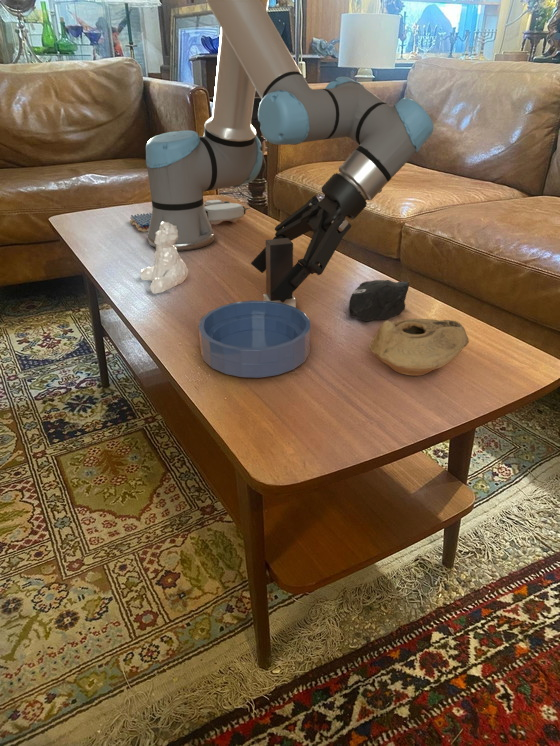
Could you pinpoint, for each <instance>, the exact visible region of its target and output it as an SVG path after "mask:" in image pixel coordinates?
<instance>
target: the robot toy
mask: <svg viewBox="0 0 560 746" xmlns="http://www.w3.org/2000/svg"><path fill="white" fill-rule="evenodd" d="M203 204H204V209H205V211H206V214H207V216H208V219H209V221H210V224H211V225H219V224H220V225H221V223H222V222H226V221H228V222H230V223H236V222H238V221H239V219H242V218H243V217H244V216H245V214H246V212H247V210H250V209H251V206H249V207H245V206H244V205H243V204H241V203H237V202H230V201H229V200H225V201H222V200H221V199H209V200H206V201H204V202H203Z"/></svg>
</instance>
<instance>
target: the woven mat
mask: <svg viewBox="0 0 560 746" xmlns="http://www.w3.org/2000/svg"><path fill="white" fill-rule="evenodd" d="M151 215H152V212H149V213H148V212H147V213H143V214H142V213H141V214H138V213H137V214H134V215H133V214H131V215H130V217H129V219H130V220H129V223H130V224H131V225H132V226H135V227H136V229H137V231H139V232H143V233H144V232H145V233H146V232H148V230H149V225H150V220H151Z"/></svg>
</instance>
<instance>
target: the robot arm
mask: <svg viewBox="0 0 560 746" xmlns="http://www.w3.org/2000/svg"><path fill="white" fill-rule="evenodd" d="M205 1H206V3H207V5H208V7H209V9H210V11H211V12H212V14H213V16H214V18H215V19H216V21H217V23H218V25H219V27H220V34H219V44H218V45H219V46H218V53H217V65H216V76H215V86H214V96H213V105H212V116H211V117H209V118H207V120H206V121H205V122H204V126H203V127H204V129H203V136H199V133H198V132H197V131H194V130H187V129H186V130H185V129H183V130H178V131H175V130H174V131H169V132H164V133H161V134H158V135H154V136H153V137H151V138H150V139H149V140H148V141H147V143H146V145H145V165H146V168H147V176H148V177H147V178H148V183H149V192H150V198H151V209H152V211H151V213H152V215H151V220H150V225H149V230H148V231H147V241H148V245H150V246H151V247H152V248H154V249H156V247H157V246H156V245H157V244H155V243H154V241H155V238H156V237H155V236H156V232H157V231H159V229H160V228H159V227H160V223H161V222H162V221H164V222H166V223H167V222H169V223H170V224H172V225H173V226H175V227H176V229H177V230H178V240H177V241H176V242H175V244H174V246H175V247H176V249H177V252H182V251H191V250H198V249H201V248H205V247H207V246H209V245H211V244H212V243H213V242H214V241H215V236H214V234H215V233H214V229H213V227H212V223H211V222H210V221H209V219H208V216H207V214H206V211H205V209H204V207H205V206H204V192H209V191H215V190H220V189H225V188H238V187H240V186H243V185H246V184H249V183H251V182H253V181H254V180H255V179H257V177H258V175H259V174H260V171H261V169H262V165H263V159H264V158H263V157H264V153H263V151H262V143H261V141H260V139H259V137H258V135H257V130H256V128H255V127H254V126H253V125H252V117H253V111H254V103H255V96H256V93H257V94H258V96H259V98H260V100H261V101H260V102H259V106H258V109H257V110H258V111H257V121H258V122H259V124H260V127H259V129H260V132H261V134H262V136H263V137H264V138H265V141H267V142H269V143H270V144H272V145H275V146H276V145H278V146H283V145H285V146H286V145H291V146H295V145H296V146H297V145H299V144H303V143H309V142H316V141H323V140H332V139H340V138H349V139H351V140H352V141H354V142H355V143H356V145H358V146H357V148H356V149H354V150H353V151H352V153H350V155H349V156H348V157H347V158H346V159H345V161H343V162H342V163H341V165H340V166H339V167H338V172H339V173H337V172H336V173H333V174H332V175H331V176H330V177H329V179H327V181H326V182H325V183H324V184H323V185H322V186H321V192H322V194H323V195H324V197H323V198H322V199H321V200H320V199H319V197H318V196H316V195H312V197H311V198H310V199H309V200H308V201H307V202H306V203H305V204H303V205H302V206H301V207H300V208H298V209H297V210H296V211H294V212H293V213H291V214H290V215H289V216H288V217H286V218H285V219H284V220H282V221H281V222H280V223H279V224H277V225H276V226H275V227H274V231H275V233H274V237H272V239H281V238H289V239H290V241H291V242H293V240H295V239H297V238H299V237H301V236H303V235H305V234H307V233H309V232H312V233H313V234H312V236H311V238H310V241H309V244H308V246H307V248H306V250H305V253H304V255H303V258H300V259H298V260H297V262H296V263H295V264H293V268H292V269H291V270H290V271H289V272H288V273H287V274H286V275H285V276H284V277H283V278H282V280H281V281H280V282H279V283H278V284H277V285H276V286H275V287H274V288H273V289H272V290H271V291H270V292H271V293H272V294H273V295H274V296H275V297H276V298H278V299H279V300H280V301H281V302H282V303H283V302H284V301H285V300H286V299H287V298H288V297H289V296H290V295H291V294H292V293H294V292H295V291H296V290H297V289H298V287H300V285H301V284H303V282H304V281H305V280H307V278H308V277H309V276H310V275H317V276H320V275H322V274H323V272H324V271H325V269H326V267H327V266H328V264H329V262H330V260H331V259H332V257H333V255H334V253H335V252H336V250H337V248H338V246H339V245H340V243H341V241H342V240H343V237H344V236H345V235H346V234H348V233H347V232H348V231H349V230H350V229H352V224H351V223H350V222H349V221H348V220H347V219H349V220H350V221H351V220H356V218H357V217H359V215H360V214H361V212H362V211H364V209H365V208H366V207H367V204H368V202H367V201H373V199H374V198H375V197H376V196H377V195H378V194H380V193H382V191H383V188H384V187H385V186H386V185H387V184H388V183H389V182H390V181H391V180H392V179H393V177H394V176H395V175H396V174H397V173H398V172H399V171H400V170H401V169H402V168H403V167H404V166H405V165H406V164H407V163H408V162H409V161H410V159H412V157H414V156H415V155H416V154H418V153H419V151H420V150H421V148H422V147H423V146H424V144H425V143H426V142H427V141H428V139H429V138H430V137H431V136H432V134H433V133H434V123H433V119H432V118H431V116H430V115H429V113H428V112H427V110H426V109H425V108H424V107H422V105H421V104H420V103H419V102H417V101H416V100H414V99H413V98H409V97H403V98H401V99H400V100H399V101H398V102H396V103H395V104H394V105H390V104H389V103H387V102H385V101H384V100H383V99H381V98H380V97H378V96H377V95H376V94H375V93H373V92H372V91H370V90H369V89H368V88H367V87H365V85H363V83H362V84H361V82H359V81H356V80H354V79H352V78H350V77H349V76H338V77H335V79H334V80H333V81H330V82H329V83H328V84H327V85H326V86H325V87H324V88H313V89H312V88H311V86H310V85H309V82H308V81H307V80H306V78H305V76H304V75H303V73H302V71H301V70H300V67H299V66H298V64H297V62H296V61H295V59H294V57H293V55H292V54H291V52H290V50H289V48H288V47H287V45H286V43H285V41H284V40H283V38H282V36H281V34H280V32H279V30H278V29H277V28H276V25H275V24H274V22H273V20H272V18H271V17H270V15H269V13H268V8H269V1H270V0H205ZM346 218H347V219H346ZM250 264H251V265H252V266H253V267H254V268H255V269H256V270H257V271H258V272H260V273H261V274H264V272H266V246H265V247H264V248H263V249H262V250H261V251H260V252H259V254H257V255H256V257H254V259H253V260H252V261H251V262H250Z"/></svg>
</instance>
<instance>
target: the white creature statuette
mask: <svg viewBox="0 0 560 746" xmlns="http://www.w3.org/2000/svg"><path fill="white" fill-rule="evenodd" d="M159 228H160V229H159V231H157V232H156V236H155V237H156V238H155V241H154V243H155V244H157V245H156V246H157V247H156V248H155V251H154V255H153V257H154V265H153V266H147V267H145V268H143V269H141V270H140V277H141V279H140V280H141V281H150V282H151V283H150V285H149V287H150V291H151V293H152V294H154V295H156V294H161V293H164V292H165V291H168V290H171V289H173V288H175V287H177V286H179V285H181V284H183V283H184V281H185V280H186V279H187V278H188V274H189V268H188V266H187V265H186V263H185V261H184V260H183V258H181V256H180V254H179V251H177V249H176V247H175V246H174V244H175V242H176V241H177V240H178V230H177V229H176V227H175V226H173V225H172V224H170V223H169V222H167V223H166V222H164V221H162V222H161V223H160V227H159Z"/></svg>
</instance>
